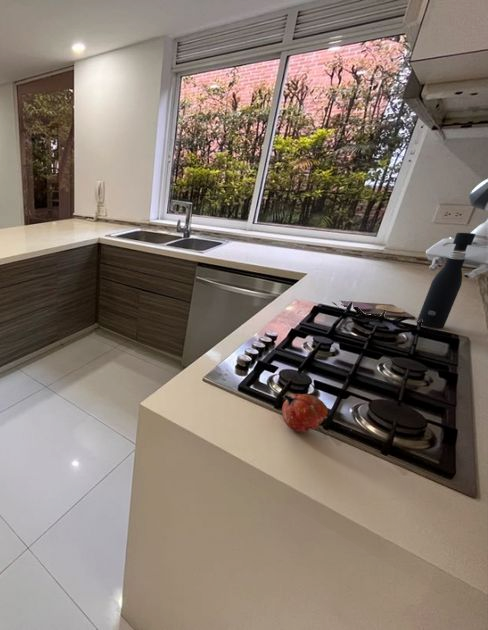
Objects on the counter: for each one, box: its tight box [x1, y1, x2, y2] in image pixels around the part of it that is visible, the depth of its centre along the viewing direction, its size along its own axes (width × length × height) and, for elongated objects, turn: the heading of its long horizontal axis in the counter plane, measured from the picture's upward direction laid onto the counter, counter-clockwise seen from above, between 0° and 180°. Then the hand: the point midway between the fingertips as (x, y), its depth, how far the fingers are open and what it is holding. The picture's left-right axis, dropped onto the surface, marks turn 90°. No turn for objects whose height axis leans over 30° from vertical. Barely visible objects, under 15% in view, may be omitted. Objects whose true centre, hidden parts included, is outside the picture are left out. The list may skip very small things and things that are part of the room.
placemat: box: [340, 300, 416, 320], centre depth 127 cm, size 20×14×1 cm
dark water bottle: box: [416, 232, 476, 330], centre depth 107 cm, size 6×6×30 cm
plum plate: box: [341, 300, 372, 311], centre depth 128 cm, size 9×9×1 cm
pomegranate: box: [281, 393, 329, 436], centre depth 64 cm, size 7×7×10 cm
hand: (448, 273), depth 107 cm, fingers open, 8 cm apart
